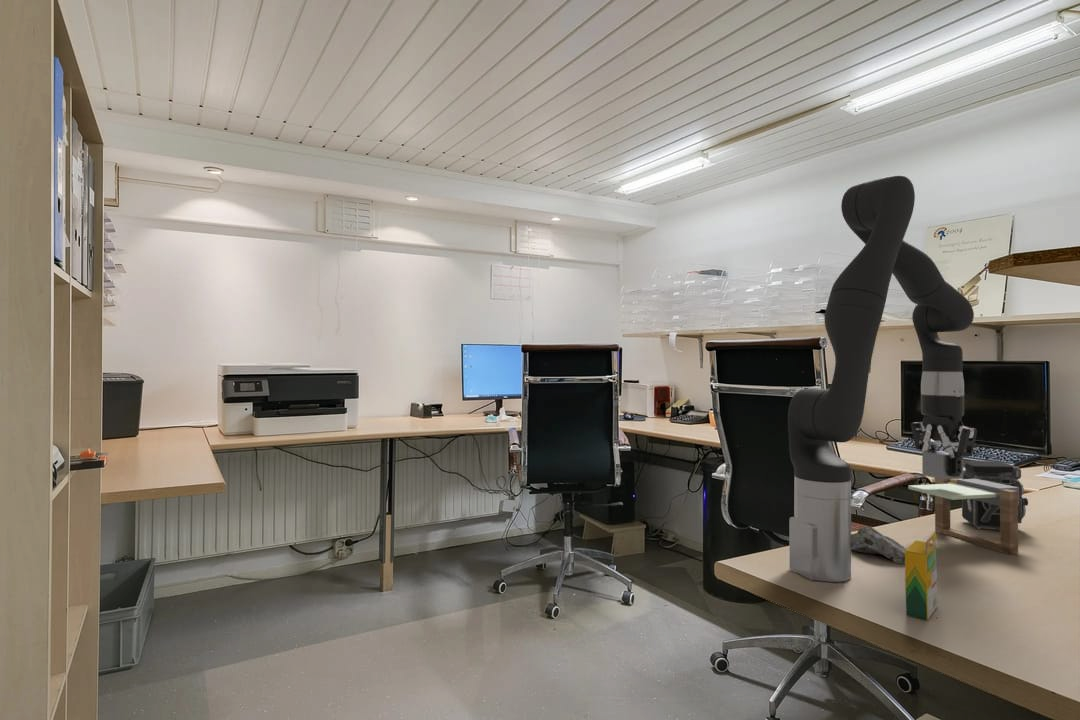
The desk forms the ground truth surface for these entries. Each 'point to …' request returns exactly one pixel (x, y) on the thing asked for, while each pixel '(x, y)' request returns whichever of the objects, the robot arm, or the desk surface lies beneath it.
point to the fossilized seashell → (877, 544)
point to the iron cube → (937, 465)
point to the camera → (986, 512)
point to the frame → (1006, 537)
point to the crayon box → (921, 578)
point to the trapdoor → (967, 490)
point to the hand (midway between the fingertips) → (942, 473)
